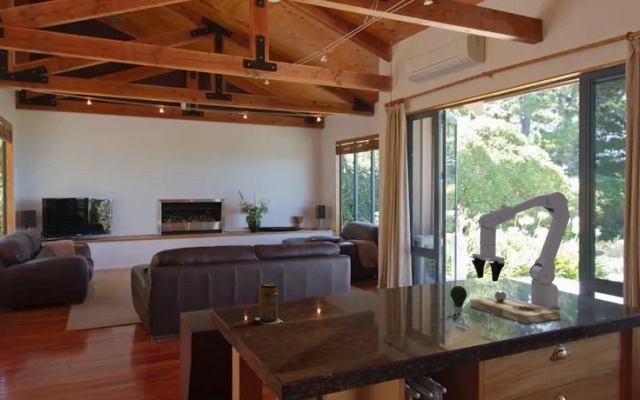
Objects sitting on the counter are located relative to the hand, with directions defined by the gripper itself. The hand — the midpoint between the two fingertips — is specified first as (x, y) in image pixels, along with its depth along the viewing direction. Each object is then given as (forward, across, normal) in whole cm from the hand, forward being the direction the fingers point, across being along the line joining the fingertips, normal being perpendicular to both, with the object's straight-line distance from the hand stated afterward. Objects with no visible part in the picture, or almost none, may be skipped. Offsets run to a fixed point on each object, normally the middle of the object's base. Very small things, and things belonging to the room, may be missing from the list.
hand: (487, 279), depth 178 cm
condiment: (+10, -13, -85) cm, 86 cm away
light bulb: (+10, +6, -20) cm, 23 cm away
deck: (+10, +12, 0) cm, 16 cm away
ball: (+5, +6, 0) cm, 8 cm away
